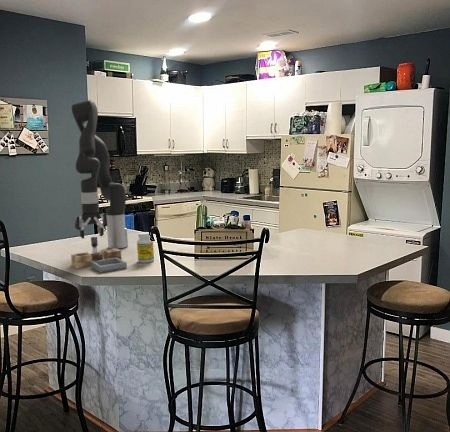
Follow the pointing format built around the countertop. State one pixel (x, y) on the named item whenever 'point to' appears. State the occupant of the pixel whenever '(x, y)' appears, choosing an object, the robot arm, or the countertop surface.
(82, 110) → the robot arm
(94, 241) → the pin gauge
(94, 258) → the pin stand
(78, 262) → the block
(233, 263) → the countertop surface
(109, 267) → the tray
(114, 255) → the block
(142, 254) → the supplement bottle
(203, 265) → the countertop surface
